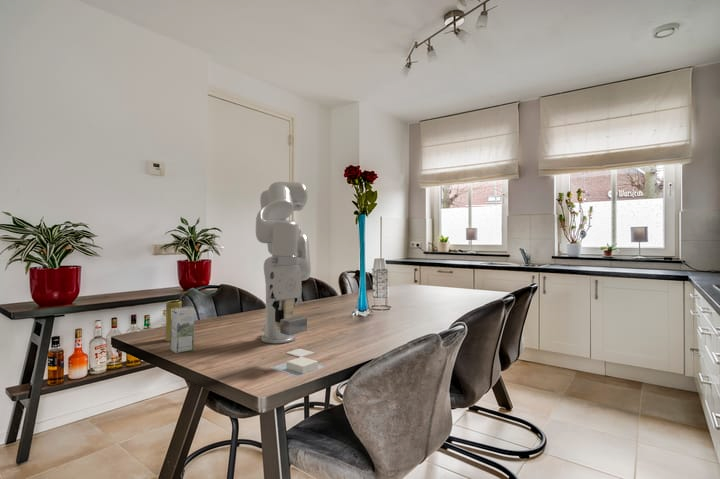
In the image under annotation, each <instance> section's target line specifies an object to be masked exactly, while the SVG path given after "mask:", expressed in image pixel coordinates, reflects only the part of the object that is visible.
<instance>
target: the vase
mask: <svg viewBox="0 0 720 479" xmlns="http://www.w3.org/2000/svg"><path fill="white" fill-rule="evenodd" d="M165 304H166V305H165V334H164V341H165V342H169V343H171V308H179V307H183V306H182V305H183V302H182V300H168V301H166V303H165Z"/></svg>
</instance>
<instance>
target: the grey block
mask: <svg viewBox="0 0 720 479" xmlns="http://www.w3.org/2000/svg"><path fill="white" fill-rule="evenodd" d="M278 303H279V301H278ZM282 310H284V319H281V320H280V323H279V322H276V321H275V329H278V330H280V333H282V334H285V335H289V336H290V335H293V334H294V335H296V334H301V333H303V332H307V331H308V317H307V316H302V315H295V316H294V307H293V298H292V299H286V300H283V305H282Z"/></svg>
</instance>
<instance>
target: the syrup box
mask: <svg viewBox="0 0 720 479" xmlns="http://www.w3.org/2000/svg"><path fill="white" fill-rule="evenodd" d="M194 338H195V308H193V307H192V306H182V307H179V308H171V342H170V349H169V350H170V351H171V352H173V353H175V354H181V353H186V352H191V351H194V343H195V340H194Z"/></svg>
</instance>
